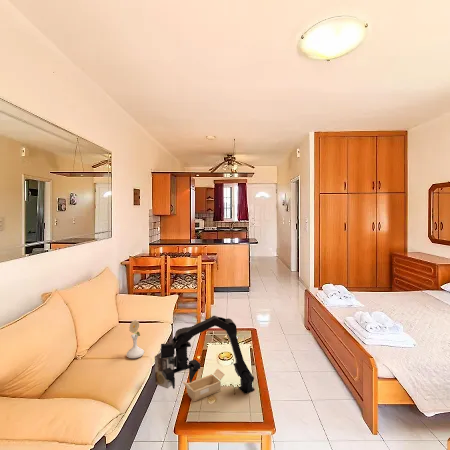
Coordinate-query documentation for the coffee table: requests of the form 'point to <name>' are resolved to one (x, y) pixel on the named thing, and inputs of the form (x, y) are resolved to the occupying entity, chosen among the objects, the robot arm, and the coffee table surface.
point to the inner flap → (218, 374)
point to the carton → (203, 387)
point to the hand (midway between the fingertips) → (182, 385)
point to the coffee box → (159, 367)
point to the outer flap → (187, 385)
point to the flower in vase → (134, 341)
